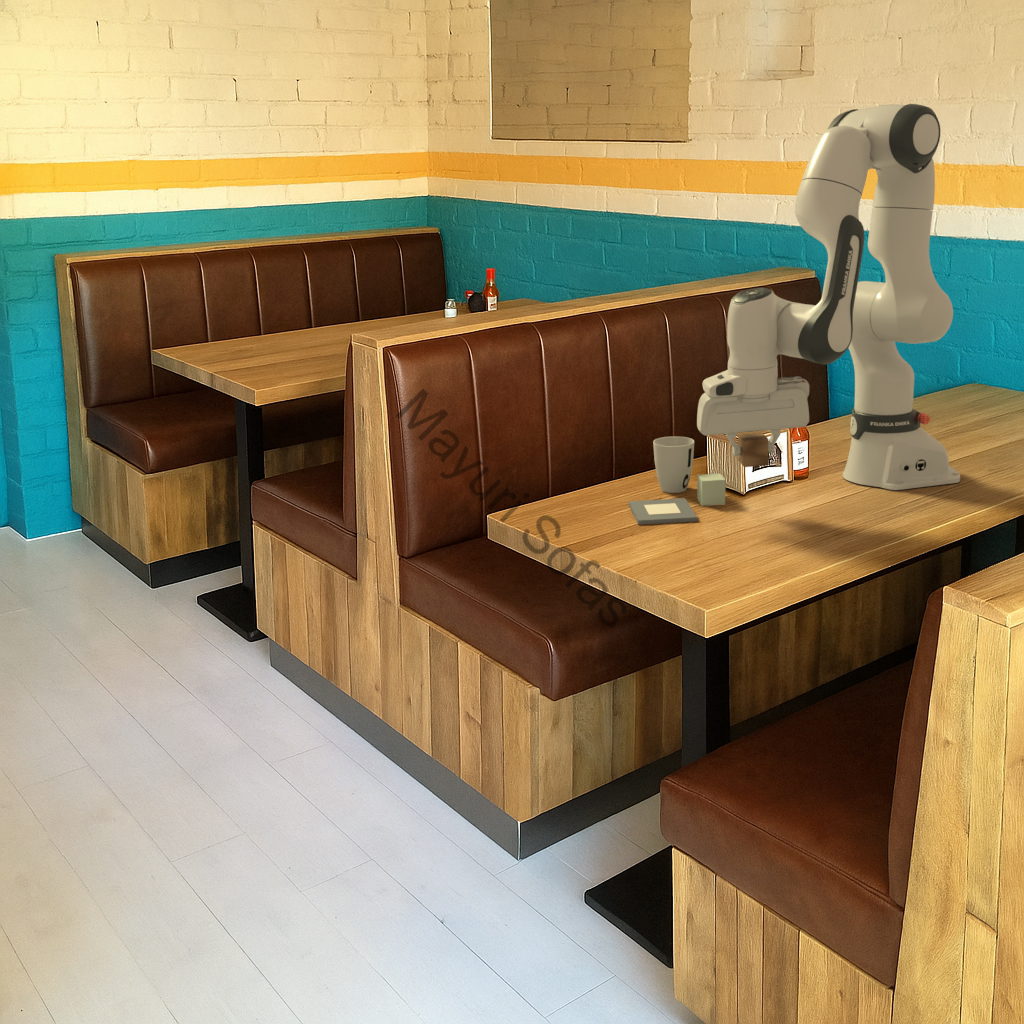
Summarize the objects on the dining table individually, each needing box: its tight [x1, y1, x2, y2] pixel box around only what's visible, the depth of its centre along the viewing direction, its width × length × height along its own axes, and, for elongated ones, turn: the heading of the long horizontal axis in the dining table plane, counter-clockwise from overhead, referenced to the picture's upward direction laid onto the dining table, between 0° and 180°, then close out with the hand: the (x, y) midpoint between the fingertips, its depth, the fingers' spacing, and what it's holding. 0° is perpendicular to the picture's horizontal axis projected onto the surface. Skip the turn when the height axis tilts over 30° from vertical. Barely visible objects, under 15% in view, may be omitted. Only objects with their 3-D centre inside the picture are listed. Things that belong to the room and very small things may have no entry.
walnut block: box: [737, 432, 769, 468], centre depth 210 cm, size 4×4×5 cm
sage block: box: [696, 473, 726, 507], centre depth 219 cm, size 4×4×5 cm
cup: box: [652, 435, 695, 494], centre depth 227 cm, size 8×8×10 cm
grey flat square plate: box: [628, 497, 699, 525], centre depth 214 cm, size 11×12×1 cm
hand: (753, 453), depth 210 cm, fingers closed on walnut block, 4 cm apart
